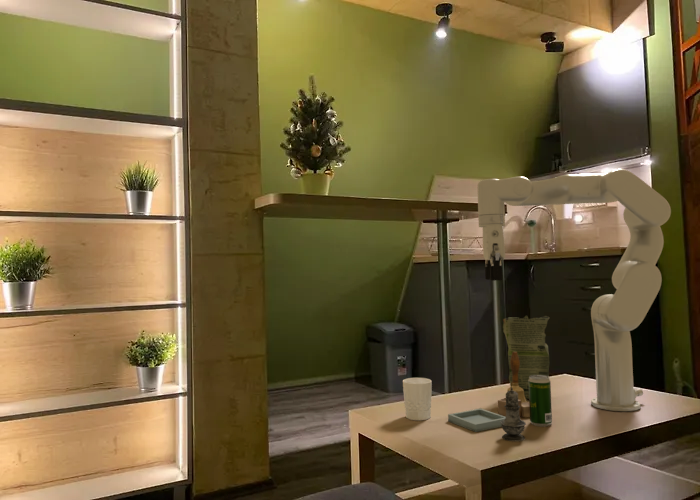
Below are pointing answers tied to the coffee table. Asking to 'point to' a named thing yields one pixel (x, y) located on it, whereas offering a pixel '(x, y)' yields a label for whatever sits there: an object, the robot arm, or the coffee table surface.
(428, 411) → the white cup
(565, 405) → the coffee table surface
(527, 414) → the light oak block
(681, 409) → the coffee table surface
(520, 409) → the walnut cube
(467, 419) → the tray
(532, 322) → the pouch
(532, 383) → the green soda can
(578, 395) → the coffee table surface
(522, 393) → the hand bell
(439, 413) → the coffee table surface
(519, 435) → the grey turned upright piece
